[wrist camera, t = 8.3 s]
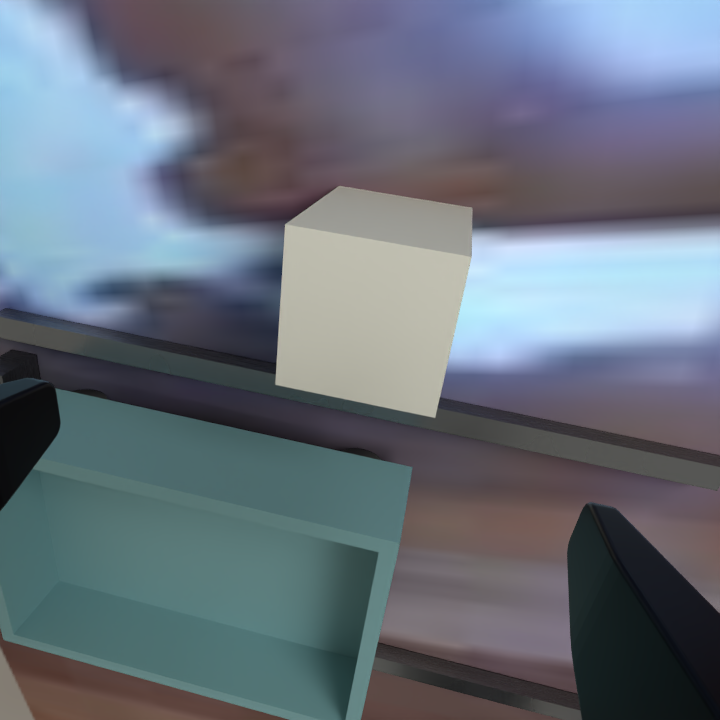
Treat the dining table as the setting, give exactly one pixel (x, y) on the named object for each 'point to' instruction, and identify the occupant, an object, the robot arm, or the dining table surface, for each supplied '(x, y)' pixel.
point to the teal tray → (204, 557)
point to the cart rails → (448, 419)
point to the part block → (372, 297)
